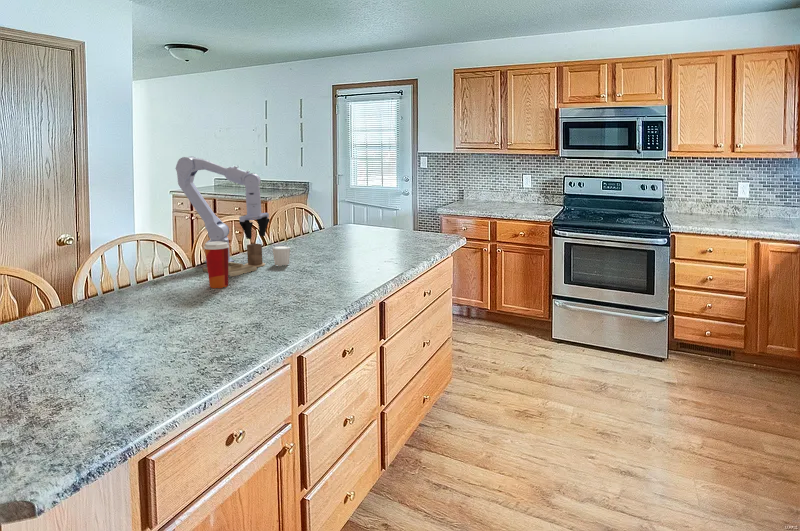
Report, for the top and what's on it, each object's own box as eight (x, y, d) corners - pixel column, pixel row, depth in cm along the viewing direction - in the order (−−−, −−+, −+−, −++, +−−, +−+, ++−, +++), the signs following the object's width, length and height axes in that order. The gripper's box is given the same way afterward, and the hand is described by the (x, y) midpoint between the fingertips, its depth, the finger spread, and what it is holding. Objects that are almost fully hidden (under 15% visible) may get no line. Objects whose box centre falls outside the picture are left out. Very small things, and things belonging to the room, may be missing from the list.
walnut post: (247, 264, 227) (246, 244, 225) (255, 262, 230) (254, 243, 228) (255, 265, 225) (254, 245, 223) (262, 264, 228) (261, 244, 226)
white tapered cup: (286, 266, 226) (285, 249, 224) (270, 265, 227) (269, 248, 225) (293, 262, 232) (292, 246, 231) (277, 262, 233) (276, 245, 232)
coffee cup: (221, 282, 200) (218, 240, 197) (236, 285, 196) (234, 242, 192) (201, 287, 193) (197, 243, 190) (216, 290, 189) (213, 246, 186)
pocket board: (203, 271, 217) (202, 265, 216) (227, 265, 227) (226, 259, 227) (233, 276, 209) (232, 269, 208) (256, 270, 219) (256, 264, 219)
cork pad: (240, 265, 226) (240, 264, 226) (254, 262, 233) (254, 261, 233) (254, 268, 222) (254, 267, 222) (269, 264, 229) (269, 263, 229)
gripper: (247, 206, 221) (249, 240, 224) (273, 202, 233) (275, 235, 236) (234, 205, 224) (236, 239, 227) (260, 201, 236) (262, 234, 239)
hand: (255, 237), depth 232 cm, fingers open, 7 cm apart
